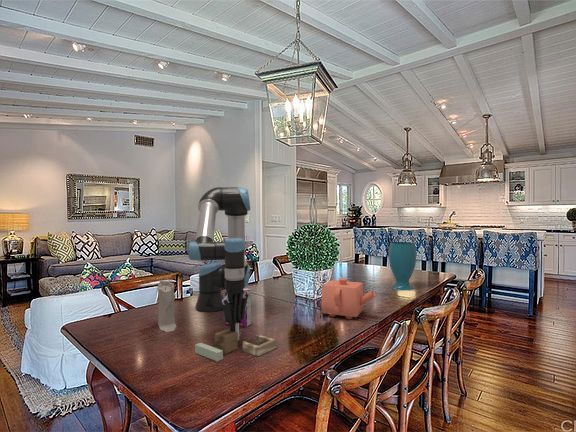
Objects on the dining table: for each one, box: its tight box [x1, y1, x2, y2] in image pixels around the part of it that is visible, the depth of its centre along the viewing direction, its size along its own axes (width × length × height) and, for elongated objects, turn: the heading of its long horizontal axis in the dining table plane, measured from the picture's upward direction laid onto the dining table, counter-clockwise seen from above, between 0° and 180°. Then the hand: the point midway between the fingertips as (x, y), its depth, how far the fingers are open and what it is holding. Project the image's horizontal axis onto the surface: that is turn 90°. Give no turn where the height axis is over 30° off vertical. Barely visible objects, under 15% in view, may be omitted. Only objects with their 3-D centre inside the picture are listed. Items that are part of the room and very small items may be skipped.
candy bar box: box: [224, 287, 252, 328], centre depth 157 cm, size 11×5×16 cm, turn 71°
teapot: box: [320, 277, 377, 320], centre depth 171 cm, size 25×23×18 cm
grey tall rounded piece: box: [157, 280, 177, 333], centre depth 154 cm, size 7×14×20 cm, turn 27°
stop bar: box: [194, 342, 224, 362], centre depth 123 cm, size 12×2×3 cm, turn 53°
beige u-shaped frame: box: [239, 329, 277, 357], centre depth 134 cm, size 22×11×3 cm, turn 53°
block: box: [214, 329, 239, 354], centre depth 129 cm, size 6×6×6 cm
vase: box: [388, 241, 418, 291], centre depth 230 cm, size 17×17×30 cm
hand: (235, 339), depth 133 cm, fingers closed
